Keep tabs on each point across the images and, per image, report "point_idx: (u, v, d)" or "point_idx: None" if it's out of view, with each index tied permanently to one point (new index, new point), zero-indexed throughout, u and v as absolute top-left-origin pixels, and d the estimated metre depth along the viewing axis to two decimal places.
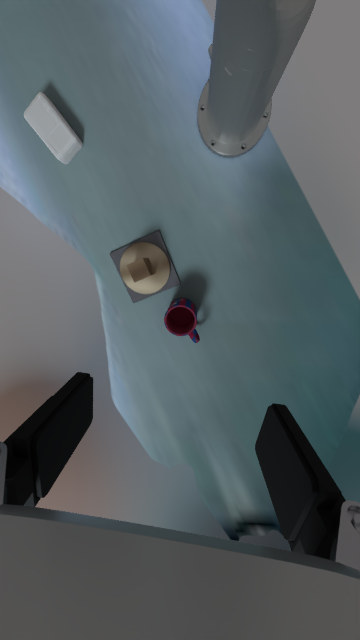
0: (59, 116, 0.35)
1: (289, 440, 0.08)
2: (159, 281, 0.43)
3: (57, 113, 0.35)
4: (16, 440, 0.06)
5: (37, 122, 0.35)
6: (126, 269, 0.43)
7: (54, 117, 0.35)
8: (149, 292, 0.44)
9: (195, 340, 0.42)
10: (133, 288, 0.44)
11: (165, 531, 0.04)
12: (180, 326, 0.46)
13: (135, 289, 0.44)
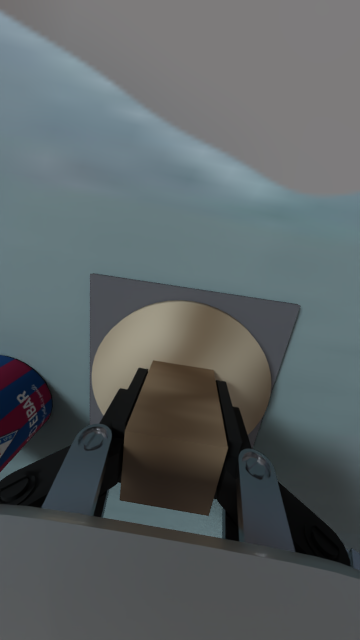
0: None
1: None
2: None
3: None
4: (117, 423, 0.07)
5: None
6: (214, 338, 0.11)
7: None
8: (99, 361, 0.12)
9: None
10: (138, 319, 0.11)
11: (165, 531, 0.04)
12: None
13: (131, 323, 0.11)
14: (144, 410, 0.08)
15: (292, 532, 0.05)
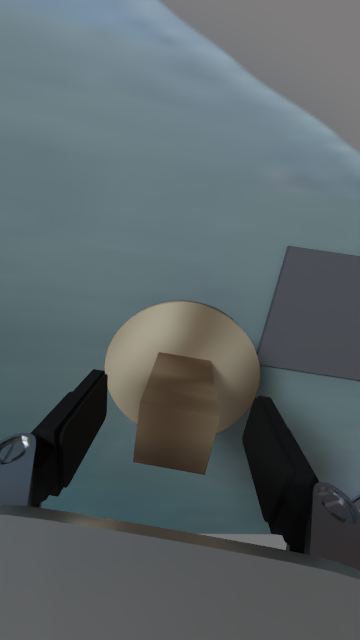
0: None
1: (270, 429, 0.08)
2: (126, 393, 0.15)
3: None
4: (44, 432, 0.07)
5: None
6: (211, 333, 0.13)
7: None
8: (112, 352, 0.14)
9: None
10: (146, 316, 0.13)
11: (165, 531, 0.04)
12: None
13: (140, 320, 0.13)
14: (154, 389, 0.10)
15: None
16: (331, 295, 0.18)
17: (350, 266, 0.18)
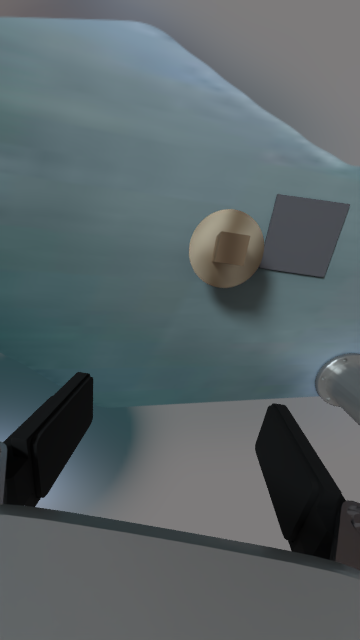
0: None
1: (289, 440, 0.08)
2: (198, 261, 0.30)
3: None
4: (16, 440, 0.06)
5: None
6: (241, 224, 0.28)
7: None
8: (194, 237, 0.29)
9: None
10: (212, 216, 0.28)
11: (165, 531, 0.04)
12: None
13: (209, 219, 0.28)
14: None
15: None
16: (301, 222, 0.34)
17: (310, 205, 0.33)
